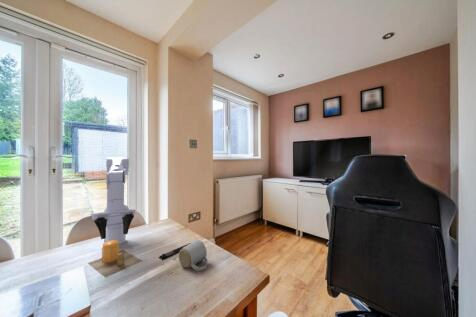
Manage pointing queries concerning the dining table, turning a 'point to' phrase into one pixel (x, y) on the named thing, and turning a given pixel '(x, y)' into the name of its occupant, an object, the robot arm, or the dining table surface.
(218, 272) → the dining table surface
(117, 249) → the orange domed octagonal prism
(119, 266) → the board
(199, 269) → the ceramic mug
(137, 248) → the dining table surface
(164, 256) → the electric trimmer
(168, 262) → the dining table surface
